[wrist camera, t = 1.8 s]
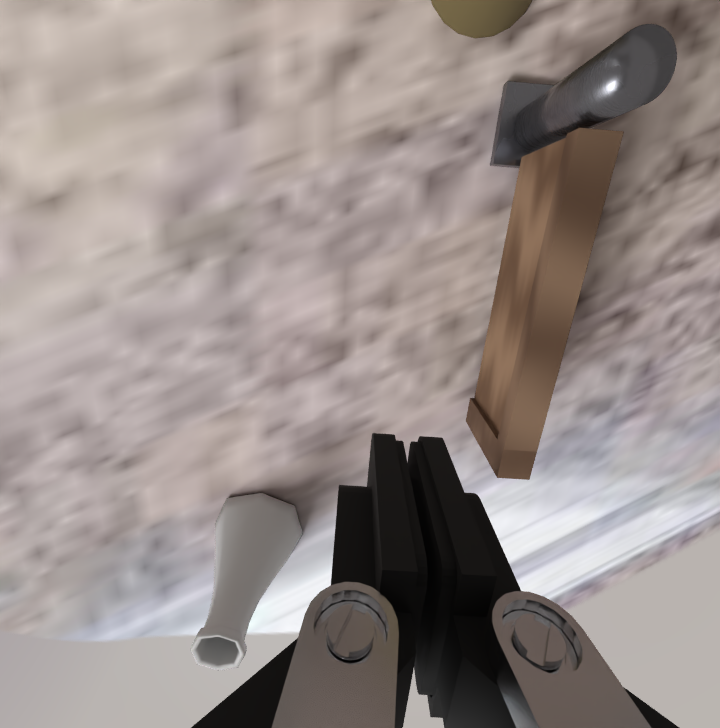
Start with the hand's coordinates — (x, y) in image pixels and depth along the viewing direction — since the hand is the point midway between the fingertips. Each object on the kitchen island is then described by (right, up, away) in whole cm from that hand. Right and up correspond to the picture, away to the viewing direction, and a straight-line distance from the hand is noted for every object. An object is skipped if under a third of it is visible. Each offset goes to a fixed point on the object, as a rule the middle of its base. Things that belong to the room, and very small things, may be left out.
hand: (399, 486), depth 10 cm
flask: (-9, -10, +22) cm, 26 cm away
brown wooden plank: (+8, +7, +15) cm, 18 cm away
